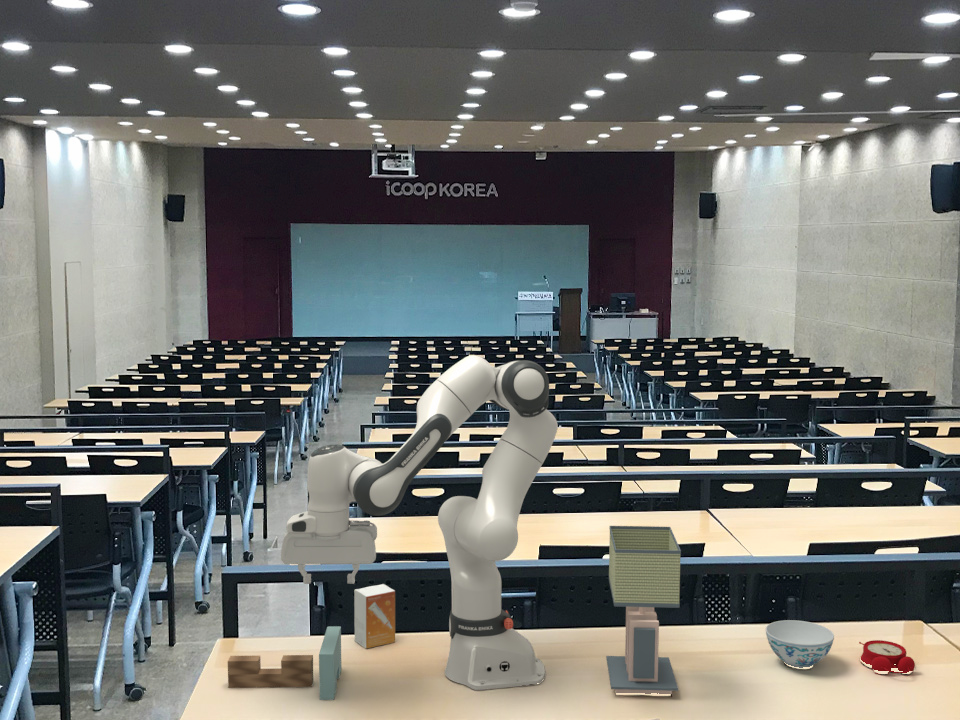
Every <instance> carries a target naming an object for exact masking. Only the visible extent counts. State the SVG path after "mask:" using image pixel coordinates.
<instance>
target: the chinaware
mask: <svg viewBox="0 0 960 720" xmlns="http://www.w3.org/2000/svg"><path fill="white" fill-rule="evenodd" d="M765 634H766V639H767V643H768V644H769V646H770V648H771V650H772V652H773V653H774V654H775V655H776V656H777V657H778V659H780V660H781V661H782V662H783V661H784V662H785V663H786V664H788V665H791V666H794V667H799V668H803V667H810V666H812V665H814V666H815V665H816V664H818V663H819V662H820V661H822V660H823V659H825V657H826V656H827V655H828V654H829V652H830V650H831V649H832V645H833V644H834V643H833V642H834V640H835V634H834V632H833V631H832V630H831V629H829V628H828V627H826V626H824V625H821V624H818V623H815V622H810V621H806V620H805V621H804V620H796V619H795V620H794V619H793V620H792V619H791V620H790V619H787V620H786V619H784V620H778V621H773V622H771V623H769V624H767V625H766V626H765Z"/></svg>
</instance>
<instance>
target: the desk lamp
mask: <svg viewBox="0 0 960 720" xmlns="http://www.w3.org/2000/svg"><path fill="white" fill-rule="evenodd" d="M679 545H680V544H679V543H678V541H677V539H676V537H675V534H674V532H673V530H672V528H671V526H651V525H650V526H649V525H647V526H646V525H645V526H644V525H643V526H640V525H639V526H637V525H609V554H608V557H609V560H608V561H609V562H608V565H609V567H608V583H609V586H610V592H611V597H612V601H613V602H612V603H613V607H619V608H620V607H621V608H622V607H625V643H624V644H625V649H624V650H625V651H624V653H625V654H624V655H606V664H607V665H606V667H607V671H608V677H609V683H610V690H614V692H615V691H616V693H645V694H651V693H657V694H658V693H659V694H672V695H673V691H676V692H679V686H678V682H677V679H676V675H675V673H674V669H673V666H672V662H671V660H670V657H668V656H667V657H666V656H659V639H660V630H659V629H660V622H659V621H660V620H658V615H657V611H655V608H671V609H672V608H673V609H676V608H677V609H679V608H680V605H681V603H680V594H681V593H680V591H681V590H680V589H681V588H680V586H681V583H680V582H681V554H682V550H681V547H680V546H679Z"/></svg>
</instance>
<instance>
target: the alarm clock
mask: <svg viewBox="0 0 960 720" xmlns="http://www.w3.org/2000/svg"><path fill="white" fill-rule="evenodd" d="M858 644H860V645H863V646H862V648H863V652H862V654H861V656H860V657H861V660H862V661H863V662H865V663H866V664H870V665H872V669H874V670H878V671H889V672H893V673H892V674H900V673H907V672H909V671H913V672H914V670H915V668H916V665H915V663H916V662H915V660H914V659H913V658H912V657H910V656H907V650H906V647H904V646H903V645H901V644H899V643H897V642H893V641H889V640H888V641H887V640H882V639H881V640H879V639H878V640H877V639H876V640H875V639H873V640H869V641H866V642H865V643H863V642H861V641H859V642H858ZM894 664H896V665H894ZM891 668H898V670H899V671H903V672H894V671H891ZM872 669H871V670H872Z"/></svg>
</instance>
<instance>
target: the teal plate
mask: <svg viewBox="0 0 960 720" xmlns="http://www.w3.org/2000/svg"><path fill="white" fill-rule="evenodd" d="M318 672H319V673H318V675H319V676H318V679H319V684H318V685H319V701H324V700H325V701H330V700H331V701H332V700H335V696H336V692H337V689H338V688H337V686H338V685H337V684H338V683H337V681H338V680H339V679H340V676H341V673H342V627H341V626H337V625H335V626H334V625H333V626H331V625H330V626H327V627H326V630H325V633H324V637H323V639H322V644H321V646H320V650H319V653H318Z"/></svg>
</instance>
